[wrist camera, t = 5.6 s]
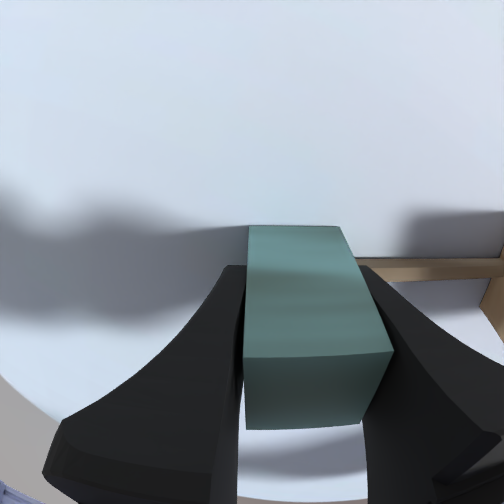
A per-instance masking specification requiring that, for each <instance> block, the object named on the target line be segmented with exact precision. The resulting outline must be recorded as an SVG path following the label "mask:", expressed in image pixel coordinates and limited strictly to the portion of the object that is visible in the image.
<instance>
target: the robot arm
mask: <svg viewBox="0 0 504 504" xmlns="http://www.w3.org/2000/svg"><path fill="white" fill-rule="evenodd" d="M358 267H359V269H360V271H361V273H362V276H363V278H364V280H365V282H366V285H367V287H368V289H369V291H370V294H371V296H372V298H373V301H374V303H375V305H376V308H377V310H378V312H379V315H380V317H381V320H382V322H383V324H384V327H385V329H386V332H387V334H388V337H389V339H390V342H391V344H392V347H393V350H394V352H393V355H392V357H391V359H390V362H389V364H388V366H387V368H386V371H385V373H384V375H383V377H382V379H381V382H380V384H379V386H378V388H377V390H376V392H375V394H374V396H373V398H372V400H371V402H370V404H369V406H368V408H367V410H366V412H365V414H364V416H363V418H362V423H363V430H364V438H365V449H366V461H367V481H368V504H504V366H503V365H501V364H499V363H497V362H495V361H493V360H491V359H489V358H487V357H485V356H484V355H482V354H480V353H479V352H477V351H475V350H473V349H472V348H470V347H468V346H467V345H465V344H464V343H462V342H460V341H459V340H458V339H456V338H455V337H453V336H452V335H450V334H449V333H447V332H446V331H445V330H443V329H442V328H440V327H439V326H438V325H436V324H435V323H434V322H433V321H431V320H430V319H429V318H428V317H426V316H425V315H424V314H423V313H421V312H420V311H419V310H418V309H416V308H415V307H414V306H413V305H412V304H411V303H409V302H408V301H407V300H406V299H405V298H404V297H402V296H401V295H400V294H399V293H398V292H397V291H396V290H395V289H393V288H392V287H391V286H390V285H389V284H388V283H387V282H386V281H384V280H383V279H382V278H381V277H380V276H379V275H378V274H377V273H375V272H374V271H373V270H372V269H371V268H369V267H368V266H367V265H358ZM246 282H247V265H228V266H227V267H225V268H224V270H223V272H222V274H221V276H220V278H219V279H218V281H217V283H216V284H215V286H214V288H213V289H212V291H211V292H210V294H209V295H208V296H207V298H206V299H205V301H204V302H203V304H202V305H201V306H200V308H199V309H198V310H197V312H196V313H195V314H194V315H193V317H192V318H191V319H190V320H189V322H188V323H187V324H186V325H185V326H184V328H183V329H182V330H181V331H180V332H179V333H178V334H177V336H176V337H175V338H174V339H173V340H172V341H171V342H170V343H169V344H168V345H167V346H166V347H165V348H164V349H163V350H162V351H161V352H160V353H159V354H158V355H157V356H155V357H154V358H153V359H152V360H151V361H150V362H149V363H148V364H147V365H145V366H144V367H143V368H142V369H141V370H139V371H138V372H137V373H136V374H135V375H133V376H132V377H131V378H129V379H128V380H126V381H125V382H124V383H122V384H121V385H120V386H118V387H117V388H115V389H114V390H113V391H111V392H110V393H108V394H107V395H105V396H104V397H102V398H101V399H99V400H98V401H96V402H94V403H92V404H91V405H89V406H87V407H85V408H84V409H82V410H80V411H78V412H76V413H75V414H73V415H71V416H69V417H67V418H65V419H63V420H62V422H61V424H60V426H59V428H58V430H57V432H56V434H55V436H54V439H53V441H52V444H51V447H50V450H49V453H48V456H47V459H46V461H45V464H44V468H43V471H42V474H43V476H44V478H45V479H46V480H47V482H49V483H50V484H51V485H52V486H54V487H55V488H57V489H58V490H60V491H61V492H63V493H64V494H65V495H67V496H68V497H70V498H71V499H73V500H74V501H76V502H78V504H237V469H238V434H239V413H240V403H241V396H242V388H243V381H244V370H243V346H244V325H245V303H246ZM0 504H45V503H43V502H41V501H38V500H36V499H34V498H32V497H29V496H27V495H25V494H23V493H21V492H19V491H17V490H15V489H13V488H11V487H9V486H7V485H5V484H4V482H3V481H1V480H0Z"/></svg>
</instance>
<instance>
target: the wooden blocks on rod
mask: <svg viewBox="0 0 504 504" xmlns="http://www.w3.org/2000/svg"><path fill="white" fill-rule="evenodd" d="M358 265H367V266H368V267H369V268H371V269H372V270H373V271H374V272H375V273H377V274H378V275H379V276H380V277H381V278H382V279H383V280H384V281H386V282H405V281H433V280H457V279H478V278H491V281H490V283H489V285H488V288H487V290H486V292H485V295H484V297H483V299H482V302H481V304H480V306H479V307H480V308H481V310H482V311H483V313H484V314H485V316H486V317H487V318H488V320H489V321H490V323H491V324H492V326H493V327H494V329H495V330H496V332H497V333H498V335H499V337H500V338H501V340H502V341H503V343H504V246H503V249H502V252H501V255H500V257H499V258H452V259H355V258H354V256H353V254H352V252H351V250H350V248H349V245H348V243H347V241H346V239H345V237H344V235H343V233H342V231H341V229H340V227H326V226H249V240H248V261H247V282H246V303H245V325H244V346H243V370H244V395H245V418H246V430H280V429H306V428H321V427H333V426H344V425H353V424H360V422H361V420H362V418H363V416H364V414H365V412H366V410H367V408H368V406H369V404H370V402H371V400H372V398H373V396H374V394H375V392H376V390H377V388H378V386H379V384H380V382H381V379H382V377H383V375H384V373H385V371H386V368H387V366H388V364H389V362H390V359H391V357H392V355H393V352H394V350H393V347H392V344H391V342H390V339H389V337H388V334H387V332H386V329H385V327H384V324H383V322H382V320H381V317H380V315H379V312H378V310H377V308H376V305H375V303H374V301H373V298H372V296H371V294H370V291H369V289H368V287H367V285H366V282H365V280H364V278H363V276H362V273H361V271H360V269H359V267H358Z"/></svg>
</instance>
